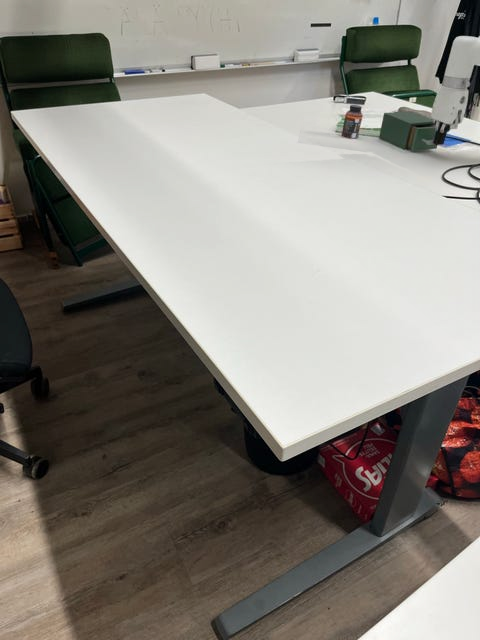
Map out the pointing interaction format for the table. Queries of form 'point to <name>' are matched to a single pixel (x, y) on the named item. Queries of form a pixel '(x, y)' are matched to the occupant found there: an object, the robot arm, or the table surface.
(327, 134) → the table surface
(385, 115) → the cabinet
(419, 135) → the drawer
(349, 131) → the supplement bottle
